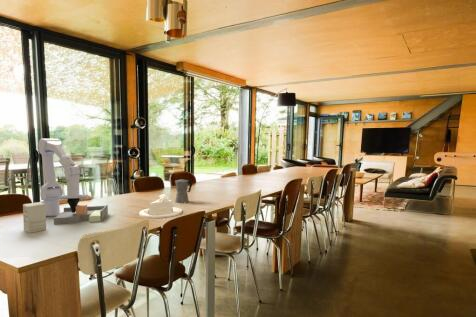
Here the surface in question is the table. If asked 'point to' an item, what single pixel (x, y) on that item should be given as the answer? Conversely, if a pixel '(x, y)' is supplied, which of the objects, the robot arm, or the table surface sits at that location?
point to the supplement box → (34, 217)
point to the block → (81, 209)
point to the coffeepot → (182, 190)
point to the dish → (161, 208)
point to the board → (82, 215)
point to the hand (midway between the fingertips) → (73, 212)
